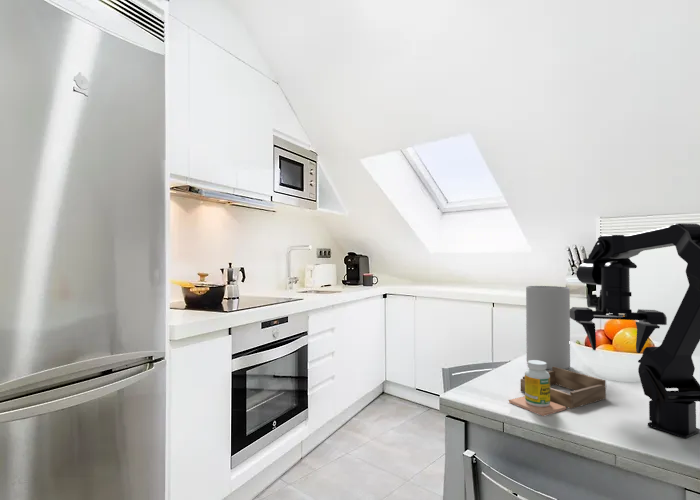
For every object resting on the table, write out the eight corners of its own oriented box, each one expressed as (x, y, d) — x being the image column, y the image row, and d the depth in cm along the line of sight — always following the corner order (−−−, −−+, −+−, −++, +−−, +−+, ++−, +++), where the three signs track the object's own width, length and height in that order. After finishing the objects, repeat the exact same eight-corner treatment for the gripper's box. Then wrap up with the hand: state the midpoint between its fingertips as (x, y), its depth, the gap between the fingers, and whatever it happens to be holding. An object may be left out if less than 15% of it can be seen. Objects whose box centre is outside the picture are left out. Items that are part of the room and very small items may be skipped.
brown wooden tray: (605, 398, 96) (605, 380, 96) (571, 408, 90) (571, 389, 90) (554, 382, 108) (554, 366, 108) (520, 390, 102) (520, 373, 102)
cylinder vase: (537, 358, 134) (536, 285, 135) (576, 366, 125) (576, 287, 125) (519, 364, 126) (518, 287, 127) (560, 373, 117) (559, 289, 117)
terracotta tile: (566, 409, 89) (566, 406, 89) (543, 416, 85) (543, 413, 85) (531, 396, 97) (531, 394, 97) (509, 402, 93) (509, 399, 93)
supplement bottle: (533, 397, 95) (533, 357, 95) (555, 404, 91) (554, 363, 91) (520, 402, 92) (519, 361, 92) (541, 409, 88) (541, 366, 88)
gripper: (646, 285, 100) (647, 346, 99) (564, 283, 105) (565, 341, 105) (667, 288, 89) (668, 357, 89) (575, 286, 94) (575, 351, 94)
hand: (615, 351), depth 94 cm, fingers open, 9 cm apart
